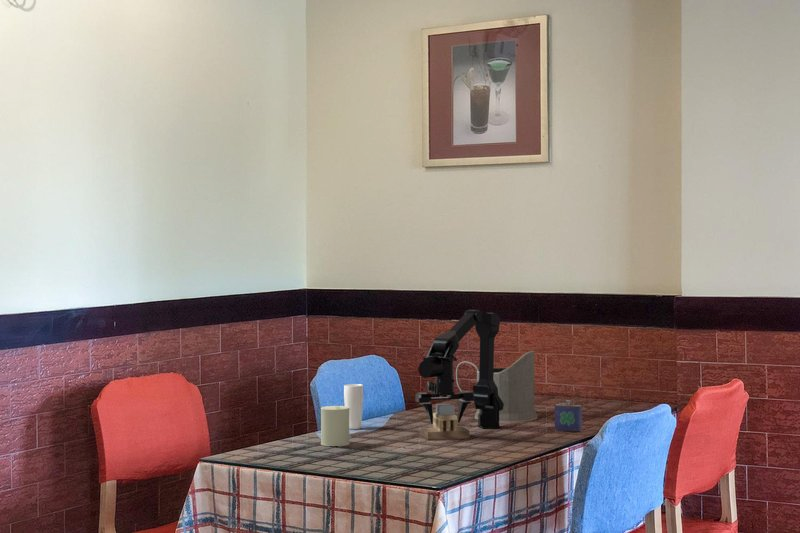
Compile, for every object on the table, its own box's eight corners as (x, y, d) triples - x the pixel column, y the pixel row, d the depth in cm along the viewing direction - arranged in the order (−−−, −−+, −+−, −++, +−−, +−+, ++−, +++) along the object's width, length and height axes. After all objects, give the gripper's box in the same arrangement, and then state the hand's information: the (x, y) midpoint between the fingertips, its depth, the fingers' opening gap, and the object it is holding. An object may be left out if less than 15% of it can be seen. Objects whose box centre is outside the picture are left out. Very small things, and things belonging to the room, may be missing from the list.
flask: (582, 431, 334) (582, 399, 334) (580, 432, 331) (580, 400, 331) (555, 430, 337) (555, 398, 337) (553, 431, 335) (553, 399, 335)
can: (327, 447, 307) (327, 408, 307) (316, 443, 315) (316, 405, 315) (354, 445, 311) (354, 406, 311) (342, 440, 319) (342, 403, 319)
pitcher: (524, 423, 352) (523, 353, 352) (443, 418, 367) (443, 350, 367) (546, 415, 372) (545, 348, 372) (469, 410, 387) (468, 346, 387)
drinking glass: (360, 430, 340) (360, 386, 340) (341, 429, 341) (341, 386, 341) (365, 427, 346) (365, 384, 346) (346, 426, 348) (346, 383, 348)
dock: (461, 433, 331) (461, 426, 331) (469, 438, 322) (469, 430, 322) (421, 435, 328) (421, 428, 328) (427, 440, 319) (427, 432, 319)
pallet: (450, 426, 330) (450, 411, 330) (457, 430, 322) (457, 415, 322) (433, 427, 328) (433, 412, 328) (439, 431, 320) (439, 416, 320)
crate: (450, 412, 328) (450, 403, 328) (454, 414, 323) (454, 405, 323) (435, 413, 327) (435, 404, 327) (439, 415, 322) (439, 406, 322)
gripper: (465, 372, 335) (465, 418, 335) (411, 373, 331) (411, 420, 331) (474, 375, 324) (475, 423, 324) (419, 377, 320) (419, 425, 320)
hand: (445, 423), depth 325 cm, fingers open, 9 cm apart
